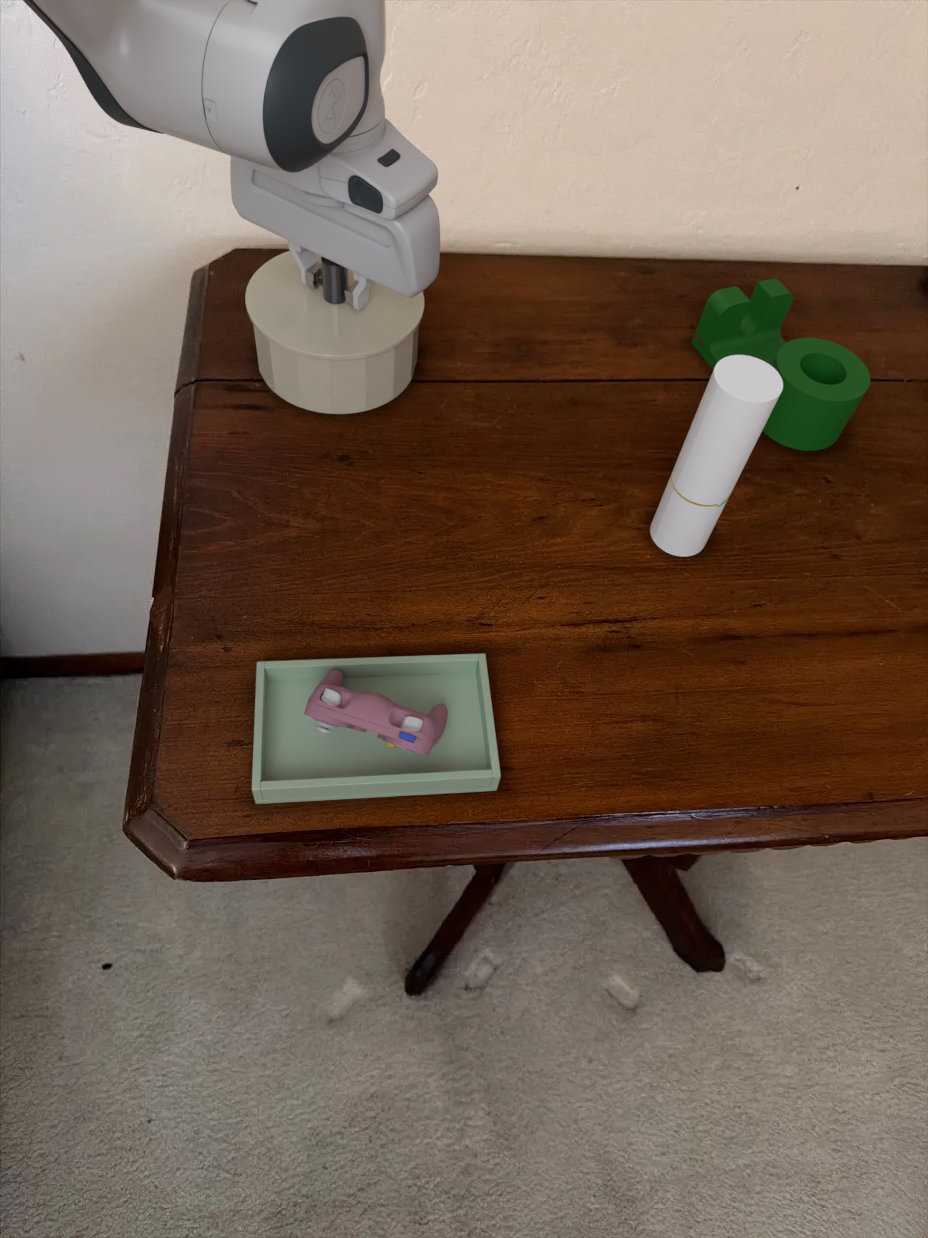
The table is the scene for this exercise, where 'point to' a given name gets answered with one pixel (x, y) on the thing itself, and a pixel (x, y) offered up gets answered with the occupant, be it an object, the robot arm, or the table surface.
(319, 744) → the tray
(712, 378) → the tube
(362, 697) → the video game controller
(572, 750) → the table surface
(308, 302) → the lid
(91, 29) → the robot arm
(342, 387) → the cream bowl
